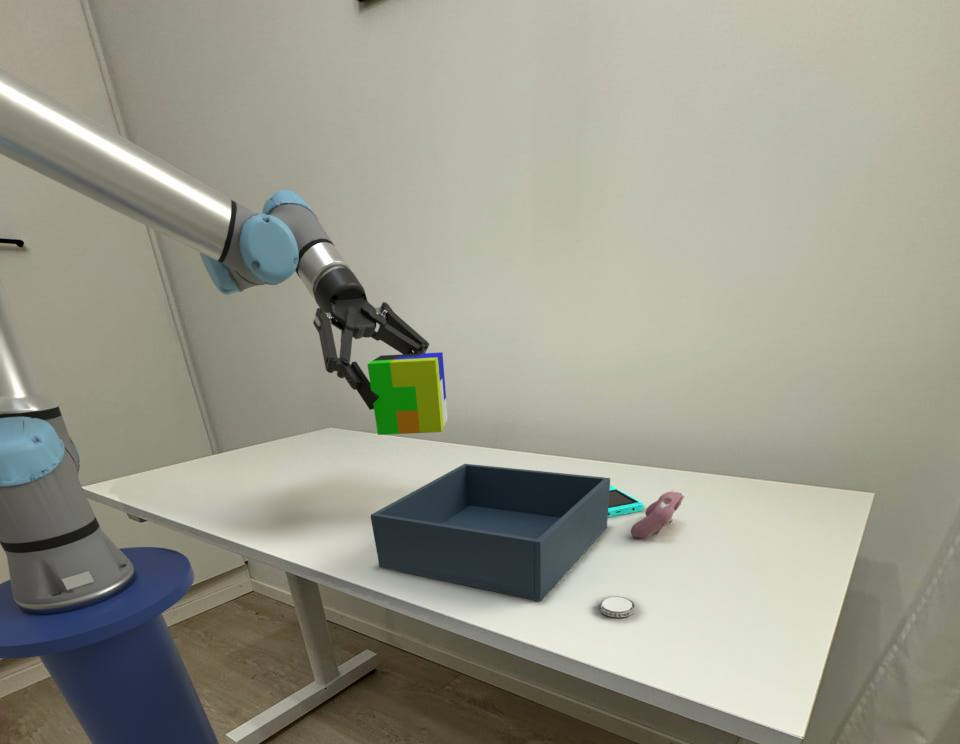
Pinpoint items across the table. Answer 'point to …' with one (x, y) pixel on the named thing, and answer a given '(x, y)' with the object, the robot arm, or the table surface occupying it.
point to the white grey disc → (616, 606)
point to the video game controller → (658, 515)
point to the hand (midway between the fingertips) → (407, 396)
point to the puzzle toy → (409, 393)
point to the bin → (494, 528)
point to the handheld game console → (622, 503)
